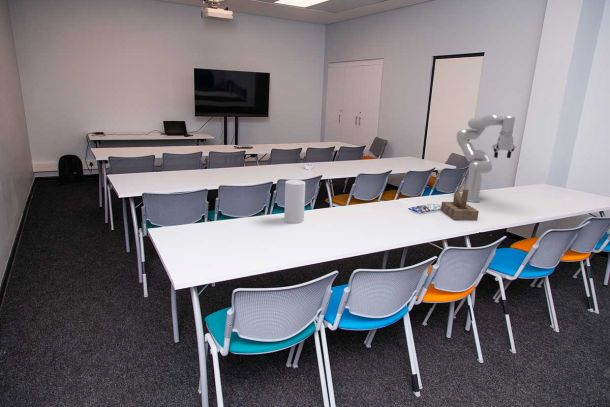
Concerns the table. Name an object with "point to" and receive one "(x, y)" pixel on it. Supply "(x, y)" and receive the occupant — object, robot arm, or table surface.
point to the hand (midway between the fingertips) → (502, 157)
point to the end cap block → (459, 211)
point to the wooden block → (460, 199)
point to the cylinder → (294, 201)
